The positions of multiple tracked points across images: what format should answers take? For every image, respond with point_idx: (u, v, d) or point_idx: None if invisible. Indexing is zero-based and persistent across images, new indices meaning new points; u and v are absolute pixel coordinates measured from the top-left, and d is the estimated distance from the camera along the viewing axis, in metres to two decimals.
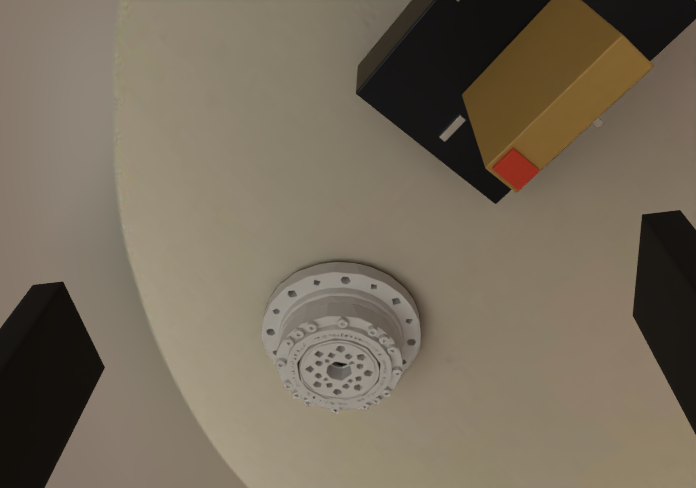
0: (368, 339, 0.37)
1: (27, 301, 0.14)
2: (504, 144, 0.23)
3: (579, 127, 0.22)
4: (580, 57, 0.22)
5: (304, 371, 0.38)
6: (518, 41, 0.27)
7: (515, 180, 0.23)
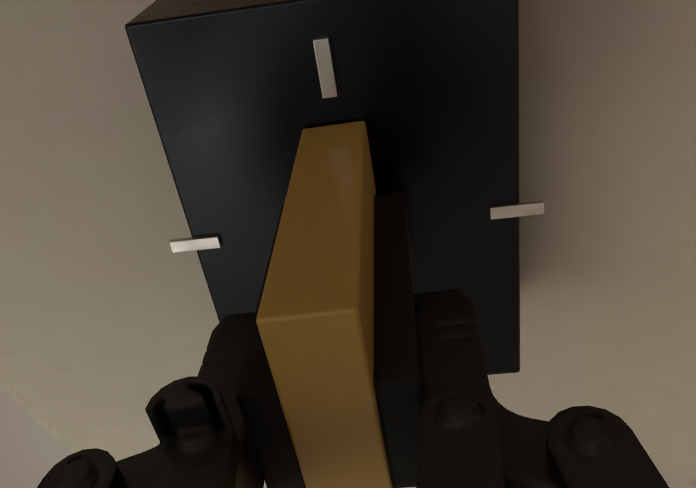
0: None
1: None
2: None
3: (369, 442, 0.11)
4: None
5: None
6: None
7: None
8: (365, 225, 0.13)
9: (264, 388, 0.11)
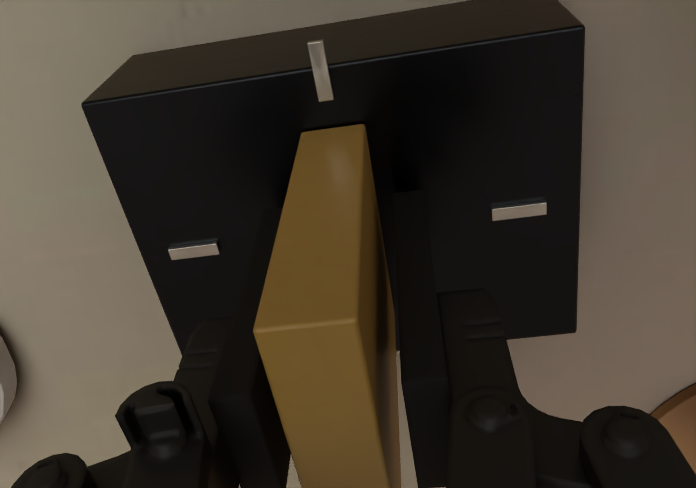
0: None
1: (267, 222, 0.16)
2: None
3: (368, 453, 0.11)
4: None
5: None
6: None
7: None
8: (365, 231, 0.12)
9: (237, 392, 0.11)
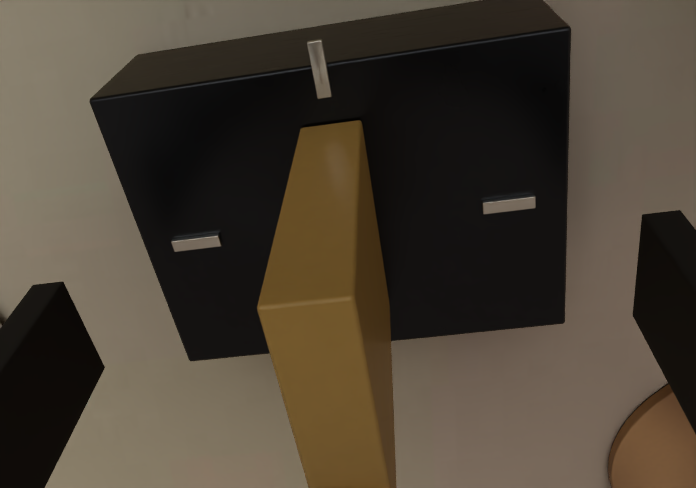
0: None
1: (27, 302, 0.14)
2: None
3: (364, 427, 0.12)
4: None
5: None
6: None
7: None
8: (361, 219, 0.13)
9: None
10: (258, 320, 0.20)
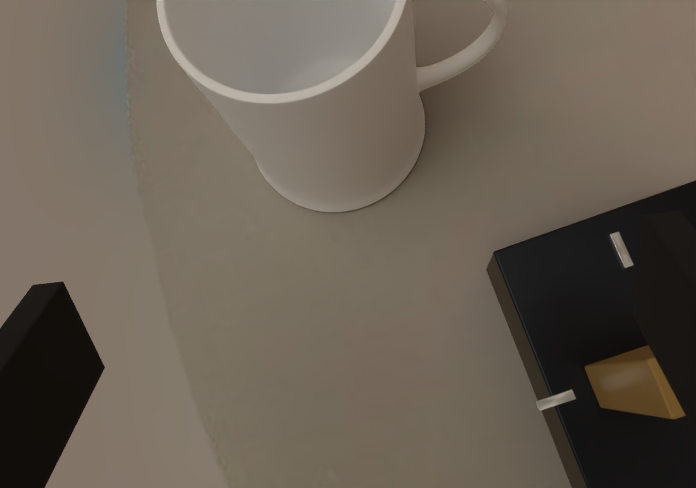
0: None
1: (27, 302, 0.14)
2: None
3: None
4: None
5: None
6: None
7: None
8: (628, 358, 0.20)
9: None
10: None
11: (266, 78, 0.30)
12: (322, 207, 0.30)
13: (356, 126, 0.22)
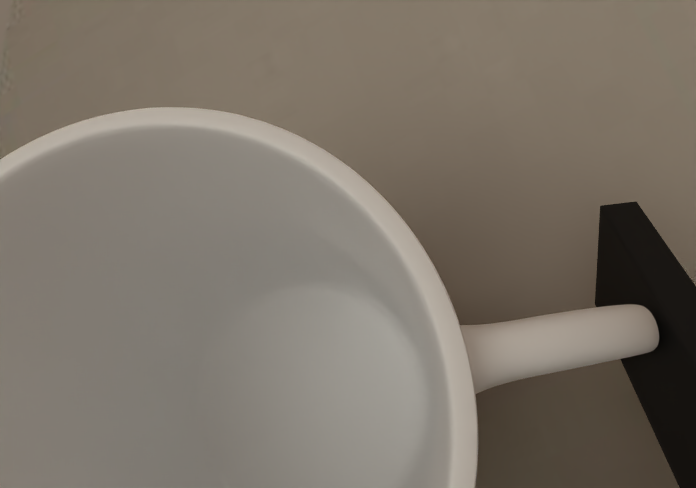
0: None
1: None
2: None
3: None
4: None
5: None
6: None
7: None
8: None
9: None
10: None
11: (194, 337, 0.18)
12: None
13: None
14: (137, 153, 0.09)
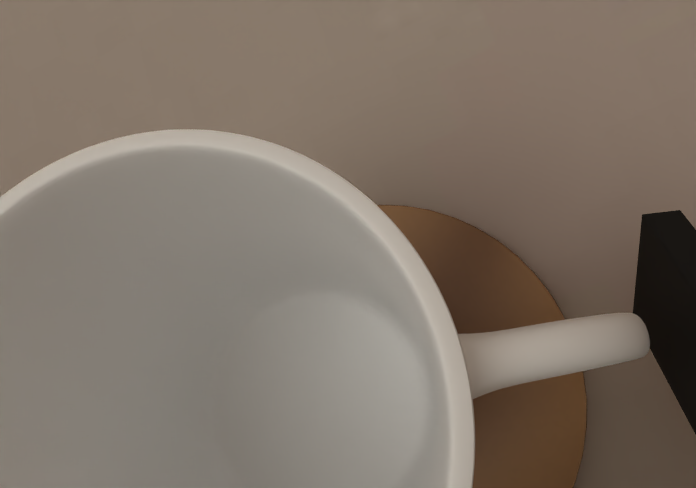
0: None
1: None
2: None
3: None
4: None
5: None
6: None
7: None
8: None
9: None
10: None
11: (203, 341, 0.18)
12: None
13: None
14: (154, 171, 0.10)
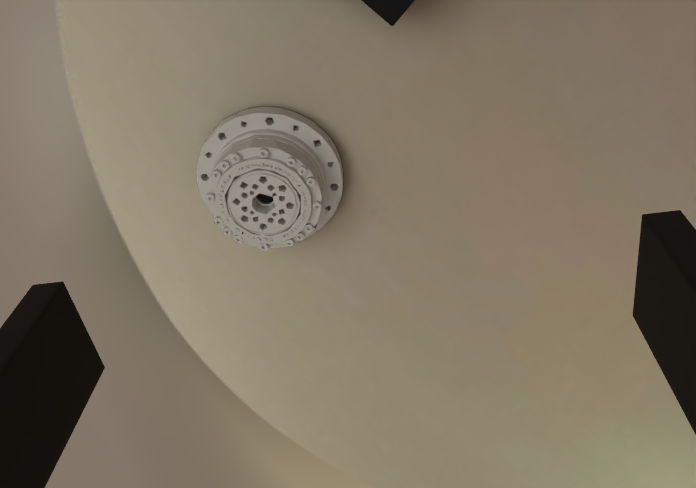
0: (287, 169, 0.40)
1: (28, 302, 0.14)
2: None
3: None
4: None
5: (231, 204, 0.42)
6: None
7: None
8: None
9: None
10: None
11: None
12: None
13: None
14: None
